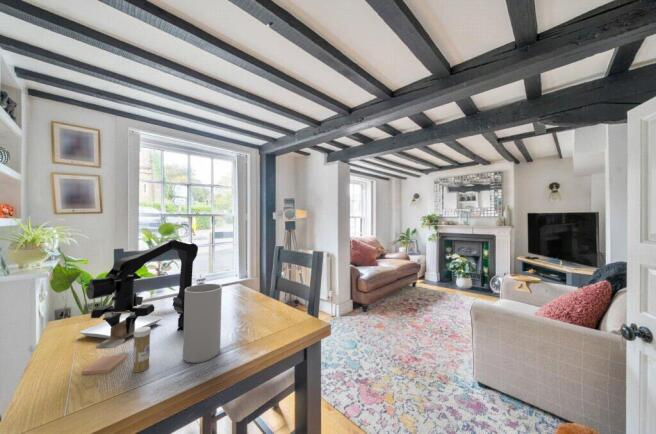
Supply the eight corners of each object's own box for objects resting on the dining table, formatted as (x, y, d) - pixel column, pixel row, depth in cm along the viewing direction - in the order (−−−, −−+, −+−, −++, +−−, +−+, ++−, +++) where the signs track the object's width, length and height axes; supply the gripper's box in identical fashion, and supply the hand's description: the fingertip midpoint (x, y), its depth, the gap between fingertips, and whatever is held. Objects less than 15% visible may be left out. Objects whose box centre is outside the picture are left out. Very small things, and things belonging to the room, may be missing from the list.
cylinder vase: (195, 345, 99) (196, 283, 100) (225, 346, 99) (227, 284, 99) (174, 363, 87) (177, 292, 87) (209, 364, 86) (211, 292, 87)
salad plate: (118, 345, 99) (119, 336, 100) (77, 339, 104) (78, 331, 104) (163, 324, 120) (163, 316, 120) (127, 319, 124) (127, 313, 124)
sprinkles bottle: (145, 372, 82) (146, 331, 82) (129, 373, 80) (130, 332, 81) (152, 364, 86) (153, 325, 86) (137, 365, 85) (138, 326, 85)
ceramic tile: (127, 354, 90) (109, 369, 81) (127, 359, 90) (109, 374, 81) (102, 356, 89) (81, 371, 80) (102, 360, 89) (81, 375, 80)
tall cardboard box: (138, 331, 98) (138, 318, 98) (115, 347, 85) (115, 333, 85) (121, 332, 97) (121, 319, 97) (95, 349, 84) (96, 334, 84)
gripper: (162, 286, 103) (160, 323, 103) (112, 287, 100) (110, 325, 100) (146, 293, 92) (145, 336, 92) (90, 295, 89) (88, 338, 89)
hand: (123, 333), depth 93 cm, fingers closed on tall cardboard box, 3 cm apart
